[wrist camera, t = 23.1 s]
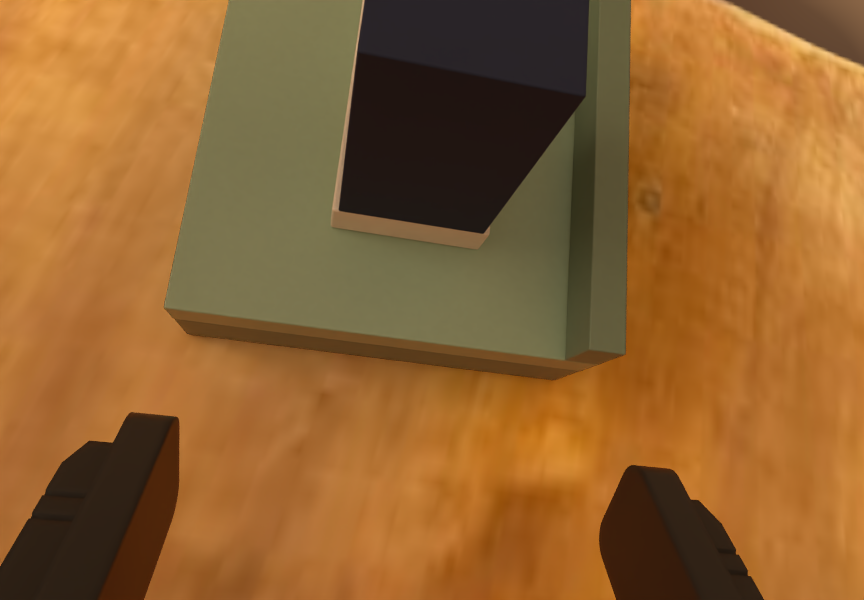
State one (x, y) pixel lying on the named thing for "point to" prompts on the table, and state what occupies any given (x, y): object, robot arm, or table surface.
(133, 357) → the table surface
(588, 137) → the green flanged plate
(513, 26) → the high-top shoe
